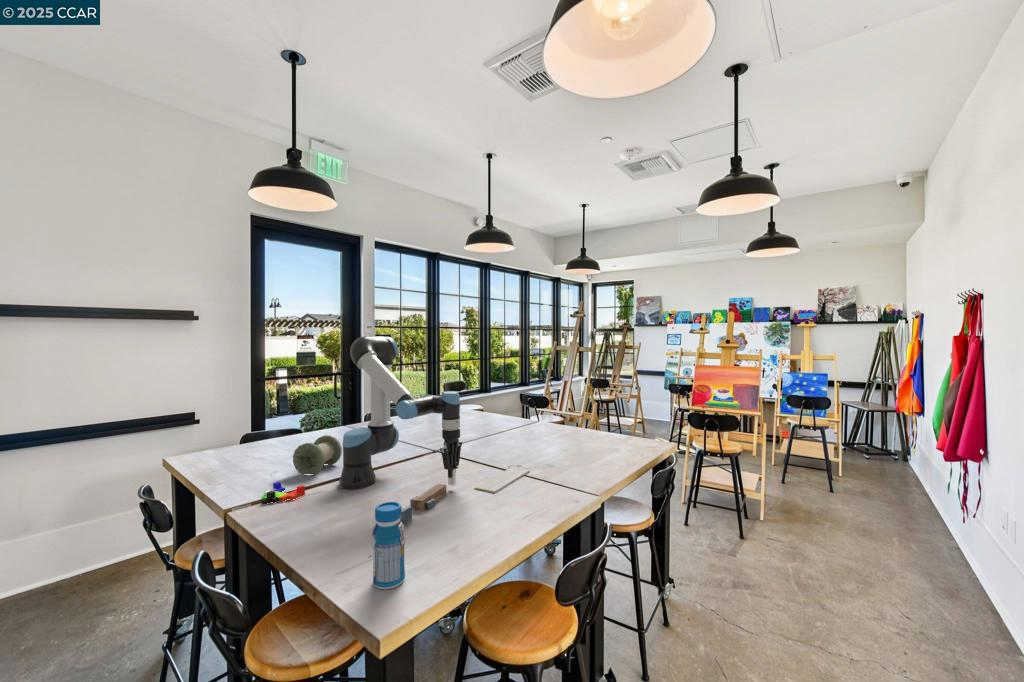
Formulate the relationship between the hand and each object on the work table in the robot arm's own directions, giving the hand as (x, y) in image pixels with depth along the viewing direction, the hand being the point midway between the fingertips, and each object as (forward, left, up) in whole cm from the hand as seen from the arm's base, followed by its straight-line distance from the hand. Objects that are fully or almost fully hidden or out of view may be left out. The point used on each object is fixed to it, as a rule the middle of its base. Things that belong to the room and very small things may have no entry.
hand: (452, 484), depth 178 cm
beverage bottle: (+24, -62, -2) cm, 66 cm away
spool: (-74, -7, -3) cm, 74 cm away
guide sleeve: (0, -19, -2) cm, 19 cm away
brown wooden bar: (0, -14, -3) cm, 14 cm away
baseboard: (+13, +20, -3) cm, 24 cm away
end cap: (0, -34, -2) cm, 34 cm away
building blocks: (-57, -39, -3) cm, 69 cm away
